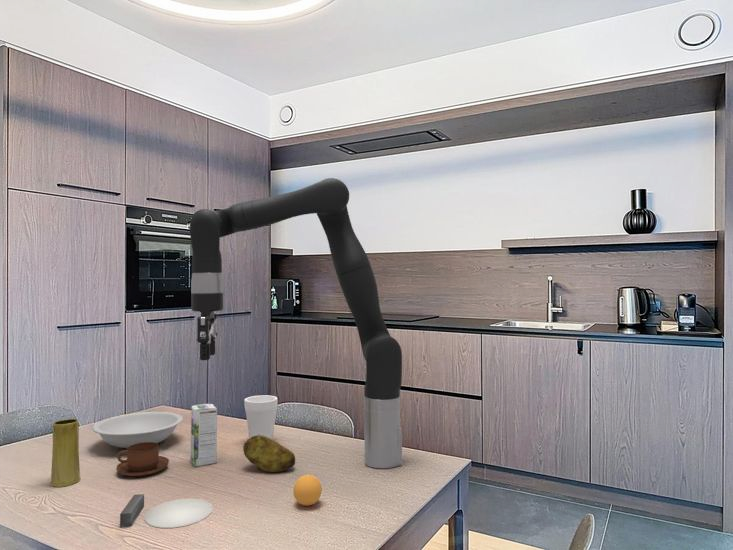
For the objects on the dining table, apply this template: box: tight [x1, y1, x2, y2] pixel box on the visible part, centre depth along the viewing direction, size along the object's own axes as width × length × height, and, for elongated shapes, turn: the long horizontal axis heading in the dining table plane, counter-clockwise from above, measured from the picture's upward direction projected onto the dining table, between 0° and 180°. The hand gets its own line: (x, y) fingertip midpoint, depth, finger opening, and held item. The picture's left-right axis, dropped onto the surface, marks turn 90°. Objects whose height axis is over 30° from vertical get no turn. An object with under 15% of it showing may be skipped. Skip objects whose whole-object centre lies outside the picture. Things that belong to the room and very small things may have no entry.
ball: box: [292, 474, 323, 507], centre depth 108 cm, size 6×6×6 cm
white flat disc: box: [144, 498, 213, 529], centre depth 105 cm, size 13×13×1 cm
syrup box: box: [190, 403, 218, 468], centre depth 134 cm, size 6×6×14 cm
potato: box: [242, 435, 296, 473], centre depth 129 cm, size 8×13×8 cm, turn 60°
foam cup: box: [243, 394, 279, 441], centre depth 149 cm, size 10×9×13 cm
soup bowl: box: [91, 411, 184, 449], centre depth 149 cm, size 24×24×7 cm
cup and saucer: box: [115, 442, 170, 477], centre depth 128 cm, size 12×12×6 cm
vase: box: [49, 418, 81, 488], centre depth 121 cm, size 6×6×14 cm
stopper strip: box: [119, 493, 145, 528], centre depth 103 cm, size 2×9×2 cm, turn 9°
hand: (208, 357), depth 126 cm, fingers open, 8 cm apart
